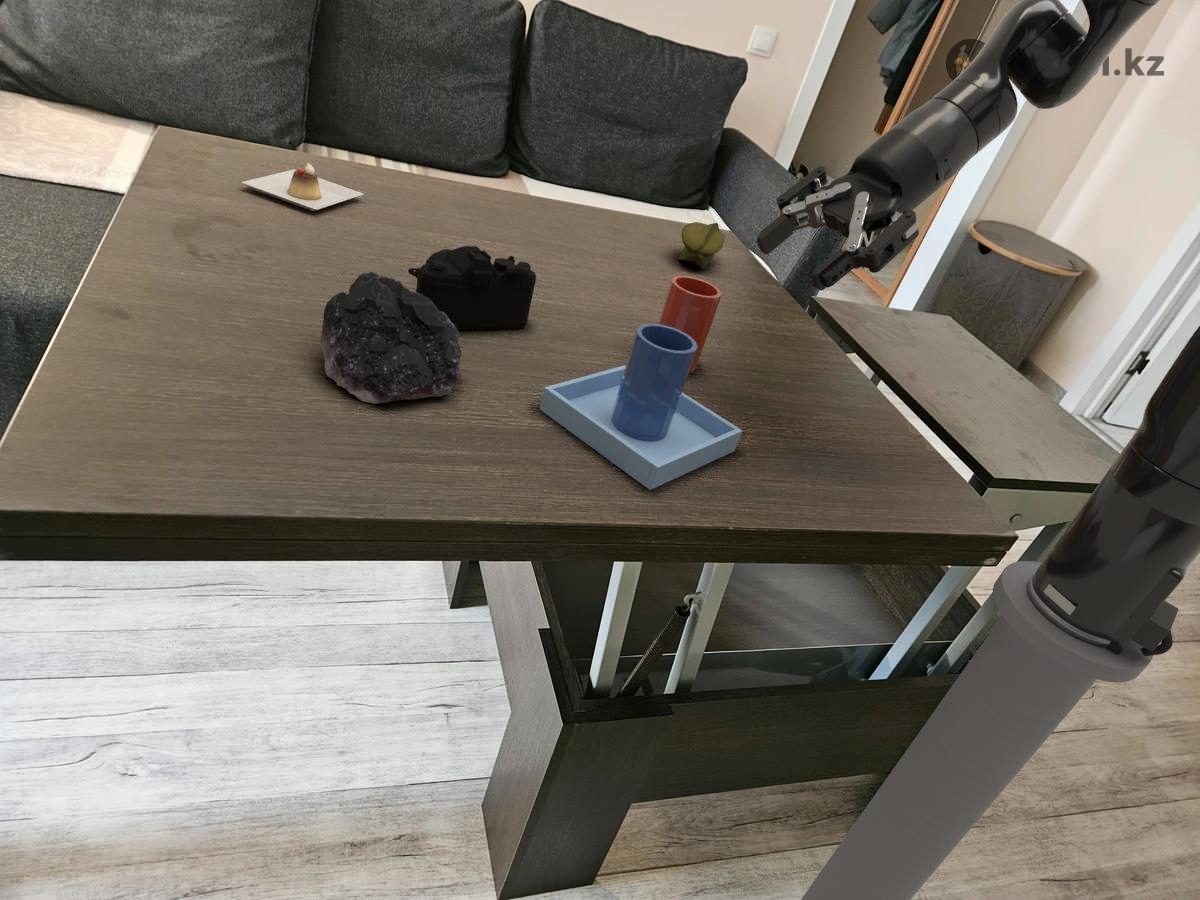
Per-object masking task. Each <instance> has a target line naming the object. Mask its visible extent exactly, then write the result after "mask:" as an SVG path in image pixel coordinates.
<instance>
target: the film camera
mask: <svg viewBox="0 0 1200 900" xmlns="http://www.w3.org/2000/svg"><path fill="white" fill-rule="evenodd" d="M491 260H492V256H491V255H490V254H489V253H488V252H487V251H486V250H481V248H479V247H478V246H477V245H464V246H460V247H457V248H454V249H449V248H447V249H441V250H439V251H435V252H433V253H431V255H430V256H429V257H428V258H427V259H426V260H425V263H424V264H422V265H421V266H420V267H417V268H416V267H411V268H408V270H407V272H408V274H409V275H411V276H412V277H415V278H416V290H415V292H417V293H420V294H422V295H424V296H425V297H428V298H429V299H430V300H431V301H432V302H433V303H434V305H435V306H436V307H437V309H438V310H439V311H442V312H444V313H445V314H446V315H447V317H448V318H449V320H450V322H452V323H453V324H454V325H455V326H456V328H457V330H458V332H461V331H462V332H463V331H464V332H466V331H468V332H469V331H499V330H502V331H503V330H516V329H517V330H518V329H523V328H525V327H526V326H527V324H528V321H529V315H530V308H531V304H532V300H533V296H534V290H535V286H536V284H537V283H536V282H537V274H536V272H535V271H533V270H532V269H531V264H530V263H529V262H526V261H519V262H517V264H515V263H516V259H515V256H513V255H509V257H507V258H503V257H497V258H495V259H494V262H493V263H492V261H491Z"/></svg>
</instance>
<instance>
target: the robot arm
mask: <svg viewBox="0 0 1200 900" xmlns="http://www.w3.org/2000/svg"><path fill="white" fill-rule="evenodd" d="M1160 1H1161V0H1081V2H1082V4H1083V6H1084V9H1085V12H1086V14H1087V17H1088V23H1089V25H1088V29H1087V31H1086V30H1085V29H1084V27H1083V26H1082V24H1081V23H1080V22H1079V21H1078V20H1077V19H1076V17H1074V16H1073V14H1072V13H1071V12H1069V10H1068V8H1067V7H1066V6H1065V5H1064V4H1063V3H1062V1H1060V0H1020V1H1018V2H1016V3H1015V4H1014V5H1013V6H1012V7H1011V8H1010V9H1009V10H1008V11H1007V12H1006V13H1005V15H1004V16H1003V17H1002V18H1001V19H1000V21H999V22H998V23H997V25H996V26H995V28H994V29H993V31H992V32H991V34H990V35H989V37H988V38H987V39H986V41H985V42H984V45H983V46H982V47H981V48H980V50H979V51H978V53H977V54H976V56H975V57H974V58H973V60H972V61H971V62H970V63H969V65H967V67H966V68H965V69H963V71H961V73H960V74H959V75H957V77H955V78H954V79H953V80H951V82H950V83H949V84H948V85H946V86H945V87H944V88H943V89H942V90H940V91H939V92H938V93H937V94H936V95H934V96H933V97H932V98H930V99H929V100H928V101H926V102H925V103H924V104H922V105H921V106H918V107H917V108H916V109H914V110H913V111H910V113H908V114H907V115H906V116H904V117H903V118H902V119H901V120H899V121H898V123H896V124H895V125H894V126H892V127H891V128H890V129H889V130H888V131H886V132H885V133H883V135H882V136H880V137H879V138H878V139H876V140H875V141H874V142H873V143H871V145H870V146H868V147H867V148H866V149H864V150H863V151H862V152H861V153H859V155H858V156H856V158H855V159H854V161H853V163H852V165H851V167H850V169H849V171H848V172H847V173H846V174H844V175H842V176H839V177H838V178H833V177H831V176H830V175H828V173H827V169H826V167H825V166H823V165H819V166H817V167H816V168H814V169H813V170H812V171H810V172H809V173H808V174H807V175H805V176H804V177H802V179H800V180H799V181H797V182H796V183H794V185H793V184H792V186H790V188H788V189H787V190H786V191H784V192H783V193H781V194H780V195H779V196H778V197H777V198H776V200H775V201H776V204H777V207H778V210H779V212H780V215H779V216H778V217H776V218H775V219H774V220H773V221H772V222H770V223H769V224H768V225H767V226H766V227H765V228H763V229H762V230H761V231H760V232H759V233H758V235H757V238H756V244H757V246H758V248H759V251H760V252H761V253H762V254H765V255H769V254H770V253H772V252H773V251H774V250H775V249H776V248H778V247H779V246H780V245H782V243H784V242H785V241H787V239H788V238H790V237H791V236H793V235H794V232H795V231H798V230H799V231H800V230H802V229H805V228H812V229H819V228H823V227H827V228H828V229H830V230H833V231H838V232H839V233H840V235H842V236H843V237H844V238H846V239H847V241H846V245H845V250H843V249H842V248H839V249H838V250H837V251H836V252H834V253H833V254H832V255H831V256H830V257H828V259H826V260H824V262H822V263H821V264H820V265H819V266H818V267H816V268H815V269H814V270H813V271H812V272H811V275H810V277H811V281H812V283H813V286H814V288H816V289H817V290H818V291H824V290H826V288H827V289H829V288H831V287H833V286H834V285H836V284H837V283H838V282H840V281H841V279H844V277H845V276H847V275H848V274H849V273H850V272H851V271H853V270H859V269H861V268H864V269H865V268H866V269H868V271H869V272H870V273H872V274H875V273H879V272H880V271H881V270H883V269H884V268H885V267H886V266H887V265H888V264H889V263H890V262H891V261H892V260H893V259H895V258H896V257H897V256H898V255H899V254H900V253H901V252H902V251H903V250H905V248H906V247H908V246H909V245H910V244H911V243H913V242H914V240H916V239H917V238H918V237H919V236H920V229H919V221H918V219H917V214H916V211H914V210H915V209H916V208H918V207H919V206H920V205H921V204H923V202H925V201H926V200H927V199H929V197H930V196H932V195H933V194H935V192H936V191H938V190H939V189H940V188H941V187H943V186H944V185H945V184H946V183H948V182H949V181H950V180H951V179H953V177H955V175H957V174H958V173H959V172H960V171H962V169H963V168H964V167H965V166H966V165H967V163H969V162H970V160H972V158H974V157H975V156H977V154H978V153H980V152H981V151H982V150H983V149H985V148H986V147H987V146H988V145H989V144H991V143H992V142H993V141H995V139H996V138H998V137H999V136H1000V135H1001V134H1002V133H1004V132H1005V131H1006V130H1007V129H1008V128H1010V126H1011V125H1012V123H1013V122H1014V121H1015V119H1016V117H1017V114H1018V107H1019V106H1018V105H1019V104H1018V98H1017V94H1016V92H1015V89H1014V87H1015V88H1016V89H1017V90H1018V91H1019V92H1020V93H1021V95H1022V96H1023V97H1024V98H1025V100H1027V102H1028V103H1029V104H1030V105H1032V106H1033V107H1034V108H1037V109H1041V110H1050V109H1054V108H1058V107H1061V106H1064V105H1065V104H1067V103H1069V102H1070V101H1071V100H1073V99H1074V98H1075V97H1077V96H1078V95H1079V94H1080V93H1081V92H1082V91H1083V90H1084V89H1085V88H1086V86H1087V85H1088V84H1089V83H1090V81H1091V80H1092V79H1093V78H1094V76H1095V75H1096V74H1097V72H1098V71H1099V70H1100V68H1101V67H1102V66H1103V64H1104V62H1105V61H1106V60H1107V58H1108V57H1109V55H1110V54H1111V52H1112V51H1113V50H1114V49H1115V47H1117V45H1118V43H1119V42H1120V41H1121V40H1122V39H1123V37H1124V36H1125V35H1126V34H1127V33H1128V32H1129V30H1130V29H1132V28H1133V26H1134V25H1135V24H1136V23H1137V22H1138V21H1139V20H1140V19H1141V18H1142V17H1143V16H1144V15H1145V14H1147V12H1148V11H1150V10H1151V9H1152V8H1153V7H1154V6H1156V5H1157V4H1158V3H1159V2H1160ZM1013 85H1014V87H1013ZM795 199H796V200H795ZM793 200H795V201H794V202H793V203H791V202H792V201H793ZM819 205H822V206H821V213H822V214H820V213H819V212H818V210H817V206H819ZM804 213H807V215H803V216H799V217H798V215H801V214H804ZM881 230H884V231H882V232H881V233H880V234H879V235H878V236H877V237H875V238H874V240H873V236H874V233H875V232H878V231H881ZM1199 555H1200V325H1199V326H1198V327H1197V328H1196V330H1195V331H1194V332H1193V333H1192V335H1191V336H1190V338H1189V339H1188V340H1187V342H1186V344H1185V345H1184V347H1183V348H1182V349H1181V350H1180V352H1179V354H1178V355H1177V357H1176V358H1175V360H1174V361H1173V363H1172V365H1171V366H1170V368H1169V369H1168V371H1167V372H1166V374H1165V376H1164V377H1163V378H1162V380H1161V381H1160V383H1159V385H1158V386H1157V387H1156V389H1155V391H1154V392H1153V394H1152V395H1151V397H1150V398H1149V400H1148V402H1147V404H1146V405H1145V409H1144V412H1143V416H1142V420H1141V423H1139V426H1138V428H1137V429H1136V431H1135V432H1134V433H1133V435H1132V436H1131V438H1130V439H1129V441H1128V442H1127V443H1126V445H1125V446H1124V448H1123V449H1122V450H1121V452H1120V453H1119V455H1118V456H1117V458H1116V459H1115V460H1114V462H1113V463H1112V464H1111V466H1110V468H1108V471H1107V472H1106V473H1105V475H1104V476H1103V477H1102V478H1101V480H1100V481H1099V482H1098V484H1097V486H1096V487H1095V489H1094V490H1093V492H1092V493H1091V494H1090V496H1088V498H1087V500H1086V501H1085V502H1084V504H1083V506H1082V507H1080V509H1079V511H1078V512H1077V513H1076V515H1075V516H1074V518H1073V519H1072V521H1071V522H1070V523H1069V525H1068V526H1067V527H1066V529H1065V530H1064V532H1063V533H1062V535H1061V536H1060V537H1059V539H1058V540H1057V542H1055V545H1054V546H1053V547H1052V548H1051V550H1050V551H1049V553H1048V555H1047V556H1046V557H1045V558H1044V560H1043V561H1042V562H1041V563H1042V564H1041V565H1040V566H1039V568H1038V569H1037V571H1036V572H1035V573H1034V574H1033V575H1032V576H1031V578H1030V579H1029V581H1028V582H1027V585H1026V591H1027V594H1028V597H1029V598H1030V600H1031V602H1032V603H1033V605H1034V606H1035V607H1036V608H1037V610H1038V611H1039V612H1040V613H1041V614H1042V615H1043V616H1044V617H1046V618H1047V619H1048V620H1049V621H1050V622H1052V623H1053V624H1054V625H1055V626H1057V627H1058V628H1060V629H1061V630H1063V631H1064V632H1066V633H1068V634H1069V635H1071V636H1073V637H1075V638H1077V639H1079V640H1081V641H1084V642H1086V643H1089V644H1092V645H1095V646H1098V647H1103V648H1106V649H1108V650H1110V651H1111V652H1113V653H1114V654H1116V655H1119V654H1120V653H1121V652H1122V651H1123V650H1124V648H1125V647H1126V646H1127V645H1128V644H1129V642H1130V641H1131V640H1133V641H1135V642H1136V643H1138V644H1140V645H1141V646H1143V648H1141V652H1142V654H1143V655H1144V656H1152V655H1153V656H1160V655H1164V654H1165V653H1167V652H1168V651H1170V650H1171V649H1172V647H1173V644H1174V640H1173V639H1174V638H1173V634H1172V628H1173V626H1174V623H1175V620H1176V617H1177V615H1178V612H1179V610H1180V609H1179V607H1176V606H1175V605H1173V604H1171V603H1170V602H1168V601H1166V600H1167V599H1168V598H1169V596H1170V595H1172V593H1173V592H1174V591H1175V589H1176V588H1177V587H1178V586H1179V584H1181V583H1182V582H1183V580H1184V578H1185V575H1186V573H1187V570H1188V569H1189V567H1190V566H1191V565H1192V564H1193V562H1195V560H1197V558H1198V556H1199Z"/></svg>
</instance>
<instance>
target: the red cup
mask: <svg viewBox="0 0 1200 900" xmlns="http://www.w3.org/2000/svg"><path fill="white" fill-rule="evenodd" d="M722 295H723V294H722V291H721V290H720V288H718V287H717V286H716V285H714V284H712V283H711V282H709V281H706V280H703V279H701V278H697V277H694V276H689V275H675V276H673V277H672V279H671V280H670V284H669V287H668V290H667V293H666V297H665V300H664V302H663V306H662V309H661V313H660V317H659V320H658V322H657V324H660V325H665V326H669V327H672V328H675V329H678V330H680V331H682V332H684V333H686V334H687V335H689V336H690V337H691V338H693V339H694V340H695V341H696V344H697V347H698V348H697V351H696V354H695V357H694V359H693V362H692V365H691V368H690V371H689V374H691V373H694V372H695V370H696V369H697V367H698V364H699V361H700V358H701V355H702V353H703V349H704V346H705V343H706V341H707V338H708V335H709V332H710V329H711V327H712V324H713V321H714V318H715V315H716V313H717V310H718V307H719V303H720V301H721V298H722Z"/></svg>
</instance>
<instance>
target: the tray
mask: <svg viewBox="0 0 1200 900" xmlns="http://www.w3.org/2000/svg"><path fill="white" fill-rule="evenodd" d="M625 367H626V364H625V365H621V366H617V367H614V368H609V369H606V370H602V371H598V372H595V373H592V374H588V375H585V376H580V377H577V378H574V379H569V380H566V381H562V382H559V383H555V384H551V385H548V386H544V389H543V392H542V395H541V400H540V405H539V411H541V412H542V413H544V414H545V415H546V416H548V417H549V418H551V419H552V420H553V421H555V422H556V423H557V424H559V425H560V426H561V427H563V428H565V430H567V431H568V432H569V433H571V434H573V435H574V436H575V437H576V438H578V440H581V441H582V442H583V443H585V444H586V445H587V446H589V447H590V448H592V449H593V450H595V451H596V452H597V453H598V454H600V455H601V456H602V457H604V458H605V459H606V460H608V461H610V462H611V463H612V464H613V465H615V466H616V467H618V468H619V469H621V470H622V471H623V472H624V473H626V474H627V475H629V476H630V477H631V478H633V479H634V480H635V481H637V482H638V483H640V484H641V485H642V486H643V487H645V488H646V489H648V490H649V491H651V490H653V489H656V488H658V487H660V486H662V485H664V484H667V483H669V482H671V481H673V480H675V479H677V478H680V477H682V476H684V475H685V474H688V473H690V472H692V471H695V470H697V469H699V468H701V467H703V466H706V465H707V464H709V463H712V462H715V461H716V460H719V459H721V458H723V457H725V456H727V455H730V454H731V453H734V452H735V451H736V448H737V445H738V443H739V441H740V438H741V437H742V436H741V435H742V433H743V430H742V429H741V428H739V427H738V426H736V425H735V424H733V423H731V422H730V421H728V420H727V419H725V418H724V417H722V416H720V415H718V414H717V413H716V412H714V411H712V410H711V409H709V408H707V407H706V406H705V405H703V404H701V403H700V402H698V401H697V400H695V399H693V398H692V397H690V396H689V395H687V394H685V393H684V392H682V394H681V397H680V400H679V403H678V406H677V409H676V412H675V415H674V418H673V421H672V424H671V427H670V429H669V431H668V434H667V436H666V437H665V438H664V439H662V440H659V441H642V440H638V439H634V438H631V437H629V436H627V435H625V434H623V433H622V432H620V431H619V430H618V429H617V428H616V427H615V426H614V425H613V423H612V420H611V417H612V413H613V408H614V405H615V401H616V398H617V394H618V391H619V388H620V384H621V381H622V377H623V374H624V370H625Z"/></svg>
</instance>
